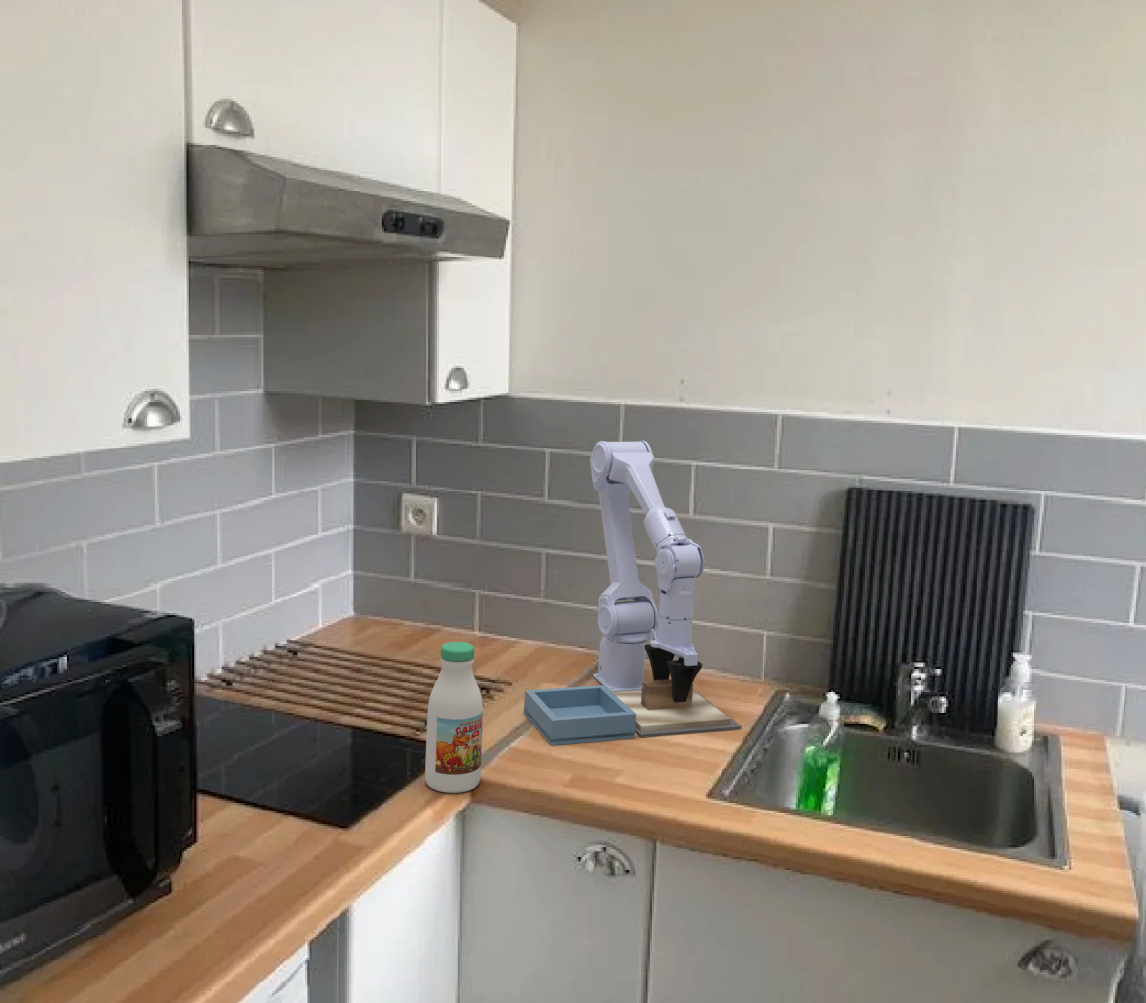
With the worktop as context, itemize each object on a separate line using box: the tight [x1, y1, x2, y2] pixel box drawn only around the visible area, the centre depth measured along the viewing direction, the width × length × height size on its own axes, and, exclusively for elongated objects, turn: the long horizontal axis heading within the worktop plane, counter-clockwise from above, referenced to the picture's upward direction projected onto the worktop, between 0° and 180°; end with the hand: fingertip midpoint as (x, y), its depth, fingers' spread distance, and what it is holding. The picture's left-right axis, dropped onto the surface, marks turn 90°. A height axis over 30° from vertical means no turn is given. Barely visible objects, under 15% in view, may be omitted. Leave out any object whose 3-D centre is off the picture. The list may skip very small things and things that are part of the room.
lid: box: [612, 678, 731, 732], centre depth 190 cm, size 16×16×5 cm
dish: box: [523, 684, 636, 746], centre depth 183 cm, size 14×14×4 cm
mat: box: [635, 689, 742, 739], centre depth 191 cm, size 18×18×1 cm
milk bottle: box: [424, 641, 484, 794], centre depth 157 cm, size 8×8×20 cm
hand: (669, 693), depth 190 cm, fingers open, 7 cm apart
